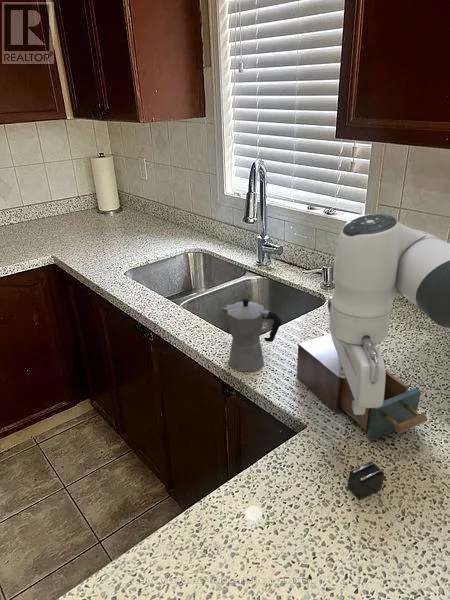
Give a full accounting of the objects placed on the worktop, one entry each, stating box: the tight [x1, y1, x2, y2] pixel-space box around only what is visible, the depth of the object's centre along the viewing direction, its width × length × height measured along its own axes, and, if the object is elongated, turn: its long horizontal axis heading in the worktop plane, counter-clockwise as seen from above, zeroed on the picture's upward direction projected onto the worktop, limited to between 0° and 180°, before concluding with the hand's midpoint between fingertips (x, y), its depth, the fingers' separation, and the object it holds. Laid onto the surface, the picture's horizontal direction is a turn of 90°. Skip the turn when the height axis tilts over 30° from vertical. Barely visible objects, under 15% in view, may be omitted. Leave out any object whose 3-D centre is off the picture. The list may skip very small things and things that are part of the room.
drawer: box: [339, 369, 428, 441], centre depth 91 cm, size 18×11×8 cm, turn 26°
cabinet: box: [296, 333, 387, 415], centre depth 101 cm, size 15×13×10 cm
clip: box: [347, 460, 385, 501], centre depth 77 cm, size 5×3×4 cm, turn 116°
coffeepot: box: [219, 297, 282, 373], centre depth 109 cm, size 15×9×18 cm, turn 67°
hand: (350, 392), depth 75 cm, fingers open, 8 cm apart
